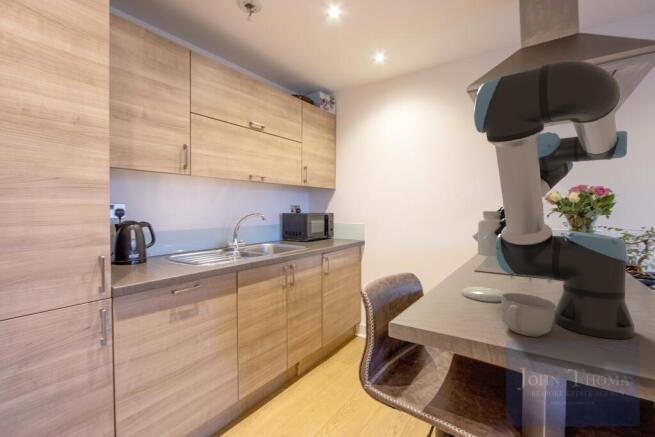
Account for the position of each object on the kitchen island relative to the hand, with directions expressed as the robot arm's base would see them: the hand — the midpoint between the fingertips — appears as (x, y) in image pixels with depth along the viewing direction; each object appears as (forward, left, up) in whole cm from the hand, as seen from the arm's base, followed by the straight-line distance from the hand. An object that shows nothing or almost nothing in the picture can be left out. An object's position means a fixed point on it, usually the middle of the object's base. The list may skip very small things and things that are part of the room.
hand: (480, 240), depth 104 cm
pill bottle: (+2, -3, -5) cm, 6 cm away
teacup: (-29, -13, -19) cm, 37 cm away
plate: (0, -1, -19) cm, 19 cm away
